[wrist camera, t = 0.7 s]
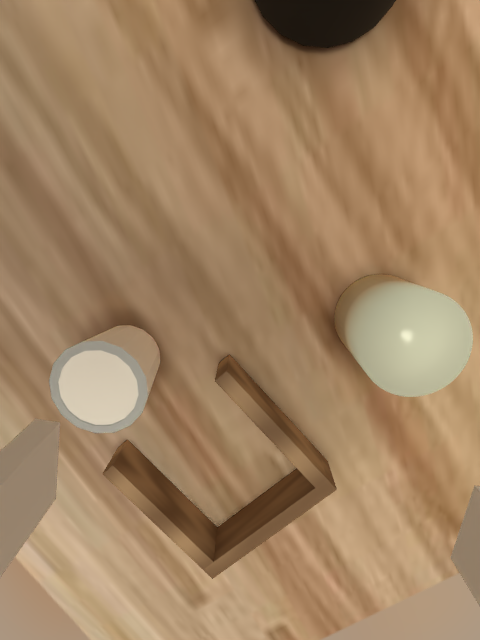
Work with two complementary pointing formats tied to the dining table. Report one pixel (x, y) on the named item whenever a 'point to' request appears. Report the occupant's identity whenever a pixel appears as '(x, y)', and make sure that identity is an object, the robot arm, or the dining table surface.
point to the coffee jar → (323, 19)
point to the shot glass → (105, 379)
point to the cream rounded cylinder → (403, 334)
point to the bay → (252, 521)
